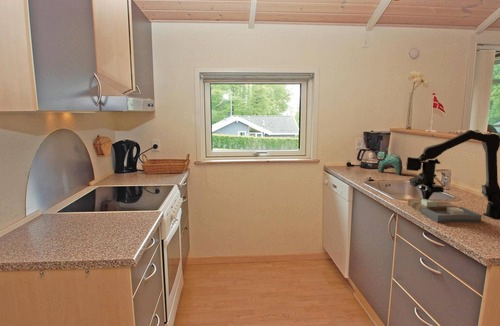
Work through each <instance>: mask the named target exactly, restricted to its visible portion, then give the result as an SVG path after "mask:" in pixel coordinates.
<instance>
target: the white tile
mask: <svg viewBox="0 0 500 326" xmlns="http://www.w3.org/2000/svg"><path fill="white" fill-rule="evenodd" d="M447 213H449V214H464V211H463V210H462V209H460V207H459V208H454V207H447Z"/></svg>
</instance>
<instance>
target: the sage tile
mask: <svg viewBox="0 0 500 326" xmlns="http://www.w3.org/2000/svg"><path fill="white" fill-rule="evenodd" d="M420 200H421V204H422V205H424V206H426V207H437V202H436V201H434V200H435V199H433V198H431V199H430V198H429V199H423V198H422V199H420Z"/></svg>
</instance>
